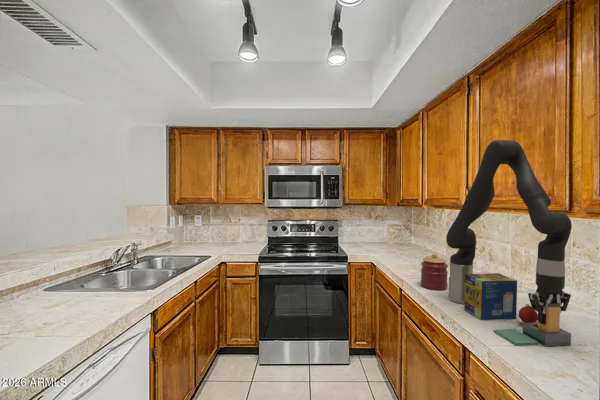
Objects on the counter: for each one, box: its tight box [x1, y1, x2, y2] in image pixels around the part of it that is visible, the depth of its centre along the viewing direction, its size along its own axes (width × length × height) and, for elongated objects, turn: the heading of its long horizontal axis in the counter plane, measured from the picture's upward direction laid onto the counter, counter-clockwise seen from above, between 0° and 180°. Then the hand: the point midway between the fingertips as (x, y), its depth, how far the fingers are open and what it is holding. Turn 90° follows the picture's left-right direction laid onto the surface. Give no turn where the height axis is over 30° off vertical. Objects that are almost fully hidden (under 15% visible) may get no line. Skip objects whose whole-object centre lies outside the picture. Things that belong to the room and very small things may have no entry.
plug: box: [537, 301, 561, 332], centre depth 104 cm, size 4×4×13 cm
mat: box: [493, 328, 539, 347], centre depth 106 cm, size 10×8×1 cm
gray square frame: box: [522, 321, 572, 348], centre depth 105 cm, size 9×9×4 cm
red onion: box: [518, 303, 538, 323], centre depth 116 cm, size 6×6×8 cm
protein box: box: [463, 272, 518, 321], centre depth 126 cm, size 10×15×16 cm
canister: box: [420, 252, 449, 291], centre depth 163 cm, size 13×13×18 cm
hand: (548, 323), depth 104 cm, fingers closed on plug, 4 cm apart
